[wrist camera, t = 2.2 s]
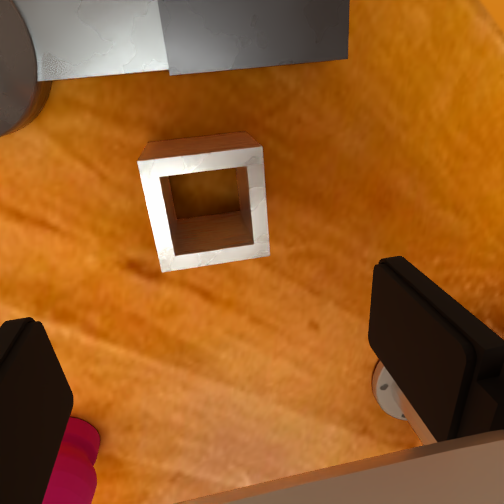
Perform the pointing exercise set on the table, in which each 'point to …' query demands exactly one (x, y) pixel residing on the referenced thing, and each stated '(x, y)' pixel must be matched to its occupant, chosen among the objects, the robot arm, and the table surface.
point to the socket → (210, 226)
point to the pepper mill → (74, 466)
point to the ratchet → (154, 41)
